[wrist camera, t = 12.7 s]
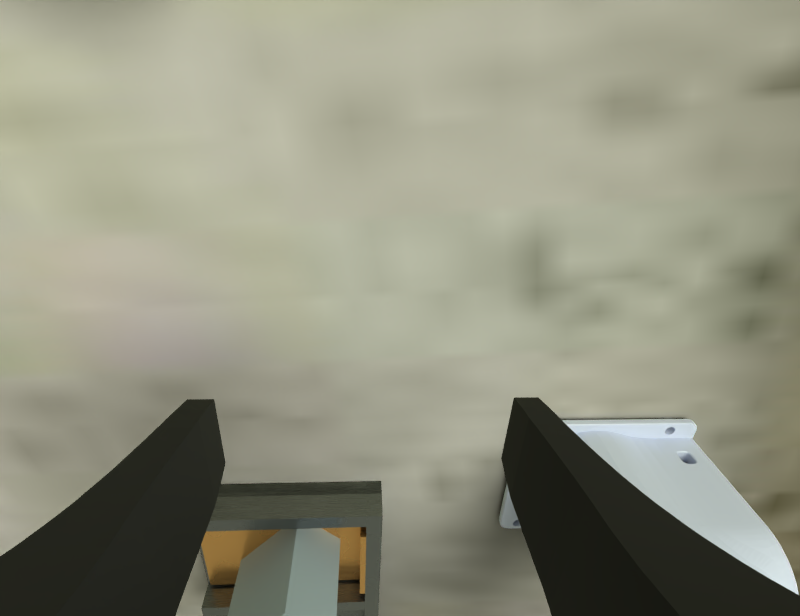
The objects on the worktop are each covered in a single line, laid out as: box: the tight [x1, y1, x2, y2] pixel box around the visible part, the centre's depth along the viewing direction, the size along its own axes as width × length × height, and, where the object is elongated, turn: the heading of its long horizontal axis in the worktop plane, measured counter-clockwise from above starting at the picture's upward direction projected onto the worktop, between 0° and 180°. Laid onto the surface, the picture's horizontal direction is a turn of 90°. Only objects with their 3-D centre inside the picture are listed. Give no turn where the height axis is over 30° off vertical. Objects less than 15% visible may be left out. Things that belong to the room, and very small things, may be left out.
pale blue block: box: [228, 528, 340, 616], centre depth 24 cm, size 3×5×5 cm, turn 134°
